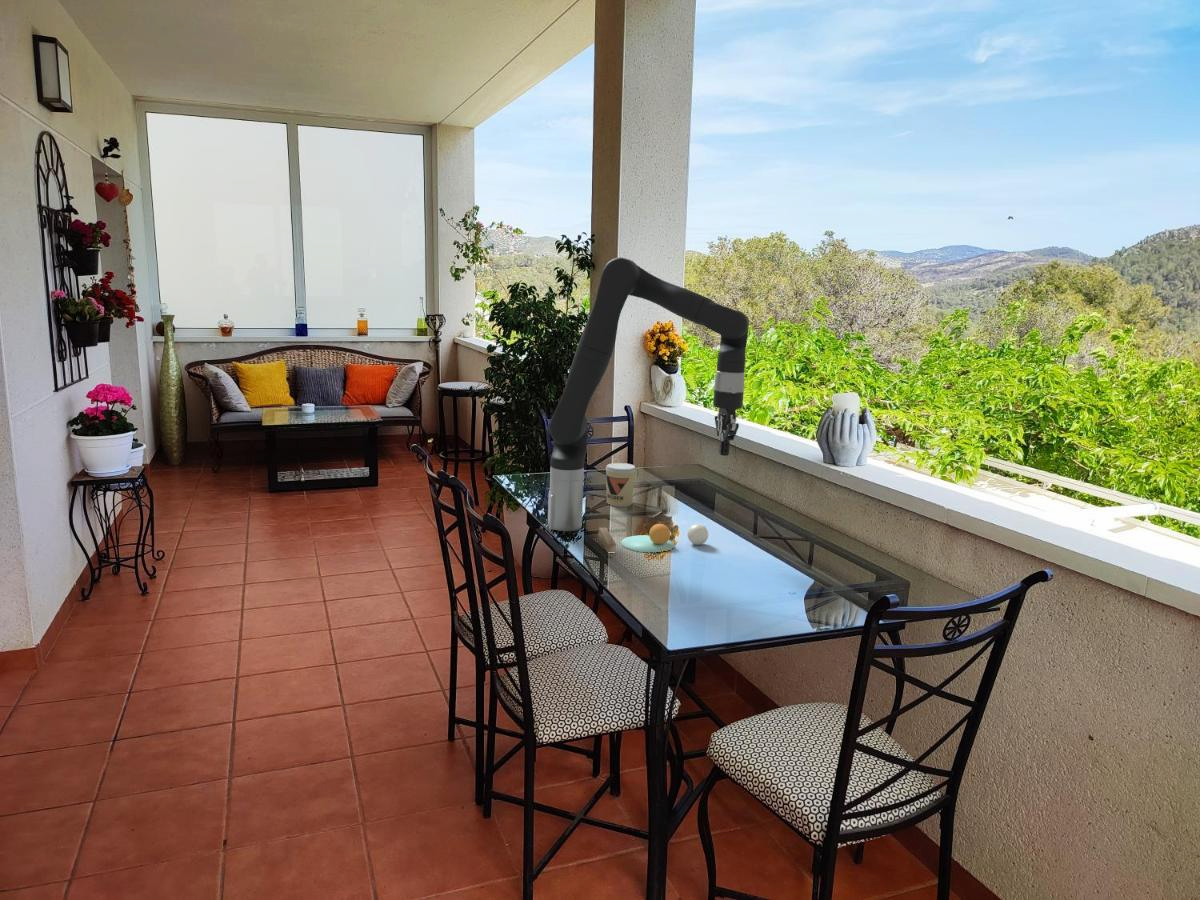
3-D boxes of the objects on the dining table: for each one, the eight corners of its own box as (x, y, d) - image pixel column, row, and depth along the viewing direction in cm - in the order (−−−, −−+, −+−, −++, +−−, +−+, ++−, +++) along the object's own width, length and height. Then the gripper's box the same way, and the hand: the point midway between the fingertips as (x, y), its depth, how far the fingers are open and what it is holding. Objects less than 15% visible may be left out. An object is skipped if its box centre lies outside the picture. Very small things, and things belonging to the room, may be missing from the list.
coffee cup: (599, 504, 245) (600, 466, 242) (612, 497, 253) (614, 461, 250) (626, 509, 240) (628, 470, 238) (639, 502, 249) (641, 465, 246)
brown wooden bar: (607, 553, 199) (608, 544, 199) (598, 536, 213) (599, 527, 212) (615, 553, 200) (615, 544, 199) (605, 536, 213) (606, 527, 213)
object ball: (673, 544, 206) (653, 549, 206) (668, 538, 212) (648, 542, 211) (670, 525, 205) (650, 530, 204) (665, 519, 210) (645, 523, 210)
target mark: (627, 553, 200) (627, 552, 200) (616, 536, 214) (616, 535, 213) (680, 552, 202) (680, 551, 202) (667, 535, 216) (667, 535, 216)
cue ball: (714, 531, 207) (707, 550, 208) (706, 523, 212) (699, 541, 213) (696, 527, 205) (688, 546, 206) (688, 518, 210) (681, 537, 211)
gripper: (707, 385, 209) (702, 449, 212) (723, 392, 196) (717, 460, 199) (734, 386, 210) (729, 449, 213) (751, 393, 197) (746, 460, 201)
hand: (723, 454), depth 206 cm, fingers closed
